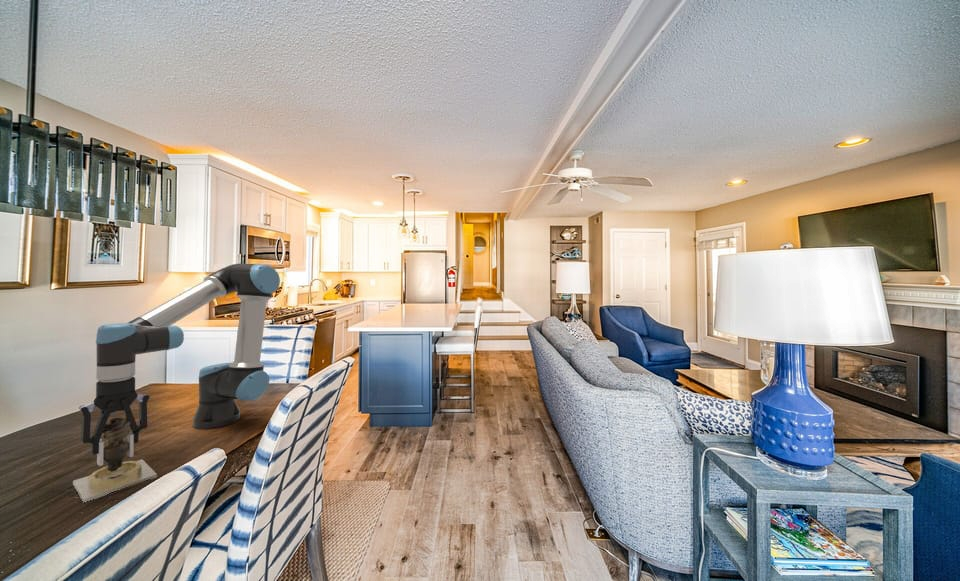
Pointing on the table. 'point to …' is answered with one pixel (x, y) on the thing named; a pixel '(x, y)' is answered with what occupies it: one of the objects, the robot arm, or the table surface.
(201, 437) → the table surface
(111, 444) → the dark brown lumpy column
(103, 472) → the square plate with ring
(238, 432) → the table surface
